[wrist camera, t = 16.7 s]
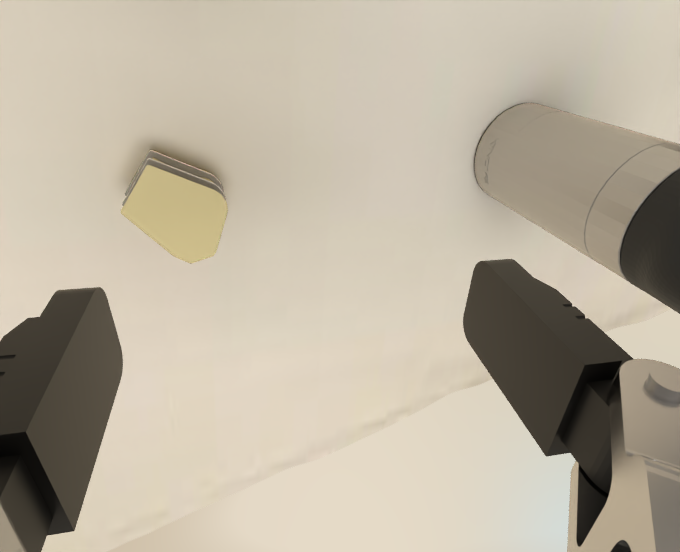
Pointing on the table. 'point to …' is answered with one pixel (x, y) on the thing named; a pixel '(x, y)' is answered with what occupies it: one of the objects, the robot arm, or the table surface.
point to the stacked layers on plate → (177, 206)
